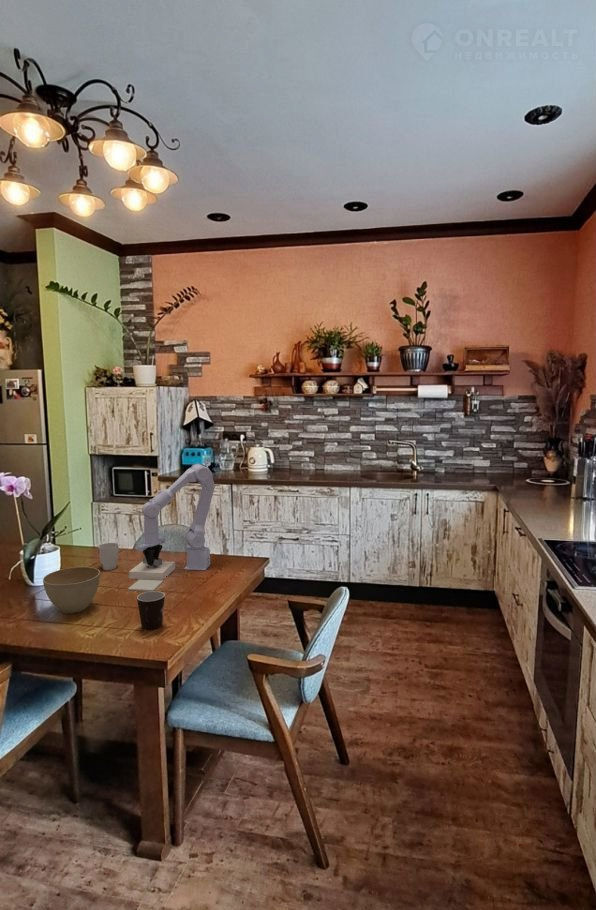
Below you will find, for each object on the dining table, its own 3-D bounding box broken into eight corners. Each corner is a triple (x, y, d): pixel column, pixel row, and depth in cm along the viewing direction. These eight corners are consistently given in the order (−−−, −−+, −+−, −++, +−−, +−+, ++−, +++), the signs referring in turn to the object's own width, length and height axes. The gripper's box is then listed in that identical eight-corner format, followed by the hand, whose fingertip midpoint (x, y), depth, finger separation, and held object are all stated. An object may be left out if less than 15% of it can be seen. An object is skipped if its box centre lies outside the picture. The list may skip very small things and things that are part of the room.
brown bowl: (76, 595, 199) (75, 563, 197) (112, 604, 190) (111, 571, 189) (33, 613, 183) (31, 579, 181) (69, 624, 175) (67, 588, 173)
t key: (163, 573, 222) (162, 558, 221) (158, 575, 219) (157, 560, 219) (147, 570, 225) (147, 555, 225) (142, 573, 223) (142, 557, 222)
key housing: (175, 568, 228) (175, 561, 228) (162, 580, 215) (162, 572, 214) (143, 567, 230) (143, 560, 230) (129, 578, 216) (129, 571, 216)
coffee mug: (149, 618, 179) (148, 589, 177) (171, 622, 175) (170, 593, 174) (125, 633, 168) (124, 602, 167) (148, 638, 165) (147, 606, 164)
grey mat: (163, 582, 212) (163, 580, 212) (153, 591, 203) (153, 589, 203) (139, 580, 214) (139, 579, 214) (127, 590, 204) (127, 588, 204)
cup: (106, 564, 234) (105, 542, 233) (123, 565, 232) (122, 543, 231) (95, 570, 226) (94, 547, 225) (112, 572, 224) (111, 548, 223)
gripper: (155, 526, 228) (156, 557, 230) (131, 534, 215) (132, 567, 217) (168, 528, 225) (169, 559, 227) (145, 536, 212) (146, 570, 214)
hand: (152, 563), depth 222 cm, fingers closed on t key, 2 cm apart
